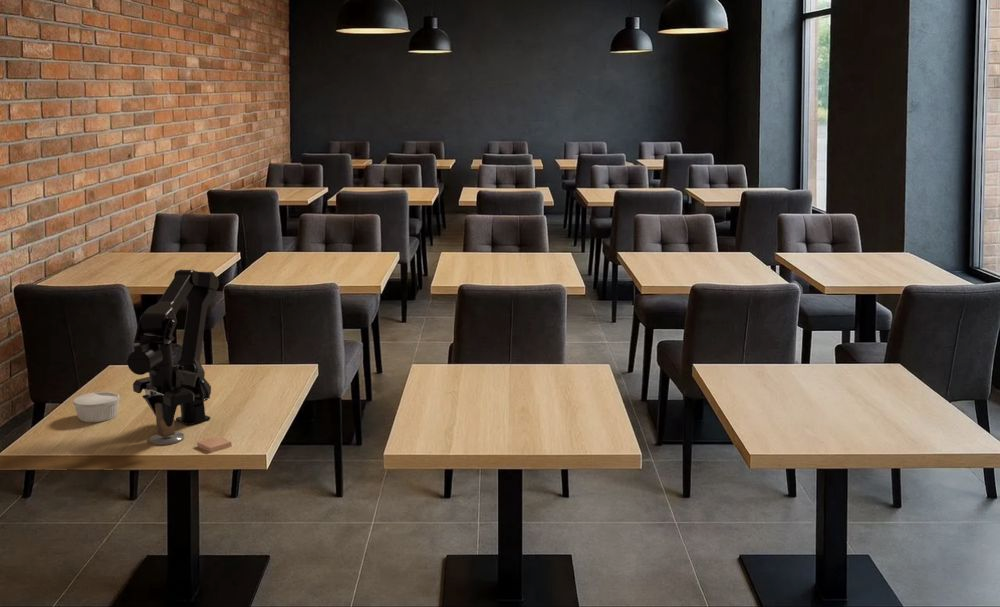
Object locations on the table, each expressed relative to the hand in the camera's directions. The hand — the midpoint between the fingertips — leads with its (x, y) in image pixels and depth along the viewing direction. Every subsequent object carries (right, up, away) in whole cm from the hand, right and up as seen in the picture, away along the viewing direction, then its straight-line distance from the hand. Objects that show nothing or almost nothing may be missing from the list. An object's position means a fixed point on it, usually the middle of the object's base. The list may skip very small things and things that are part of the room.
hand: (165, 424), depth 252 cm
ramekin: (-23, 0, +18) cm, 29 cm away
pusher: (0, -2, 0) cm, 3 cm away
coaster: (0, -4, +1) cm, 4 cm away
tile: (+11, -4, -2) cm, 12 cm away
